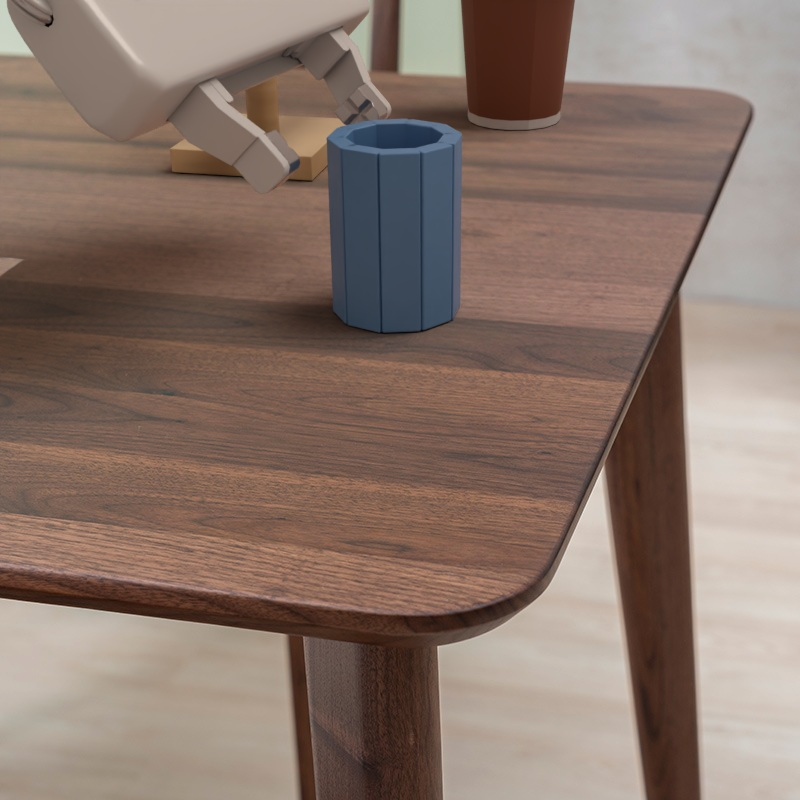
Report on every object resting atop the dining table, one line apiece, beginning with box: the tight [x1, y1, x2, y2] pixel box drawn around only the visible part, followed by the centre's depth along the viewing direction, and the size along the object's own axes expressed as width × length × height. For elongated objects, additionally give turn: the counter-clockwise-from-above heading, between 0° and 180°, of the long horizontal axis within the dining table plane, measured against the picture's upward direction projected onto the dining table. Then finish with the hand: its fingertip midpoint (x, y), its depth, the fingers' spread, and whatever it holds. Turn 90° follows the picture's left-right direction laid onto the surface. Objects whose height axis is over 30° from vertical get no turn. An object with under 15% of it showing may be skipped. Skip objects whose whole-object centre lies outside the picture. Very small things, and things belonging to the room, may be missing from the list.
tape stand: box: [169, 76, 345, 182], centre depth 78 cm, size 9×9×10 cm
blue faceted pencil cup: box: [327, 118, 463, 334], centre depth 56 cm, size 6×6×8 cm
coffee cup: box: [460, 0, 576, 131], centre depth 85 cm, size 9×9×12 cm
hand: (333, 151), depth 55 cm, fingers open, 8 cm apart
